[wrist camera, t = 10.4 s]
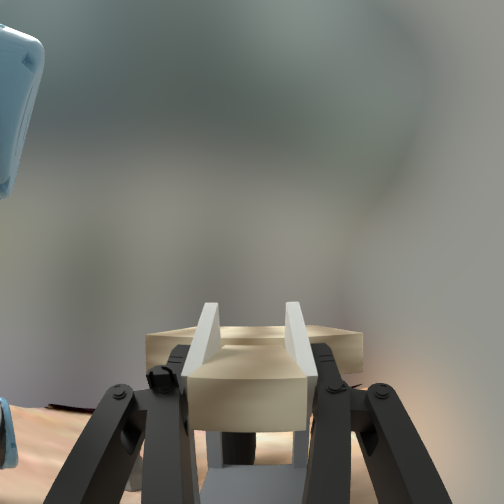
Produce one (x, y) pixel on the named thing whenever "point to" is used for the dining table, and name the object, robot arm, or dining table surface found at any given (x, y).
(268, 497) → the side table
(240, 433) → the portable speaker
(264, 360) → the cutting board
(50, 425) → the dining table surface
